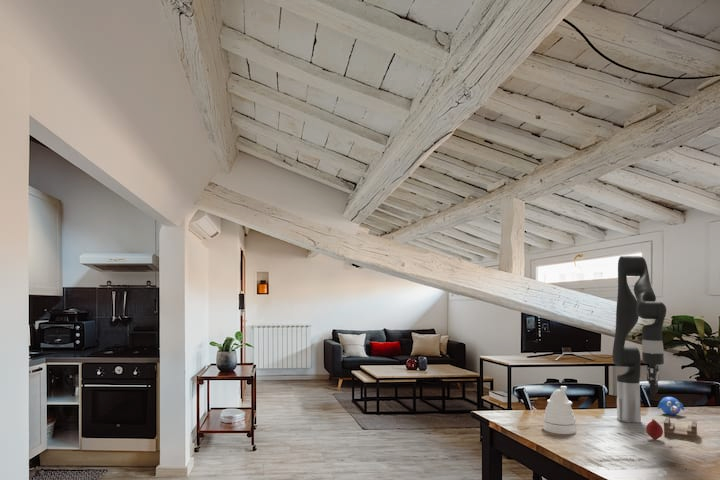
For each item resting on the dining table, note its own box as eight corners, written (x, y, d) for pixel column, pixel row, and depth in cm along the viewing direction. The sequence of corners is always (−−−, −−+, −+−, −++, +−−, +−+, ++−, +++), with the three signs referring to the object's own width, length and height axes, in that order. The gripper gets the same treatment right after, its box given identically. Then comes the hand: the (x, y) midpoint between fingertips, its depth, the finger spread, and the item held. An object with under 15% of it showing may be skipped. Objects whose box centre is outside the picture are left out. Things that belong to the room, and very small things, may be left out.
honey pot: (576, 428, 225) (576, 385, 226) (575, 435, 213) (574, 389, 215) (545, 424, 230) (544, 382, 232) (541, 431, 218) (541, 387, 220)
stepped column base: (696, 441, 208) (695, 426, 208) (664, 436, 214) (663, 422, 214) (697, 434, 218) (696, 421, 218) (666, 430, 224) (665, 417, 224)
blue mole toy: (663, 417, 248) (662, 399, 249) (654, 412, 260) (653, 394, 261) (691, 419, 246) (690, 400, 247) (680, 413, 258) (679, 395, 259)
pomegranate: (661, 438, 210) (660, 418, 211) (664, 442, 205) (663, 421, 206) (645, 437, 212) (644, 416, 213) (647, 440, 207) (647, 419, 208)
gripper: (643, 349, 220) (645, 389, 218) (640, 352, 208) (641, 394, 206) (664, 350, 216) (666, 391, 214) (662, 353, 204) (663, 396, 202)
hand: (654, 393), depth 210 cm, fingers open, 8 cm apart
